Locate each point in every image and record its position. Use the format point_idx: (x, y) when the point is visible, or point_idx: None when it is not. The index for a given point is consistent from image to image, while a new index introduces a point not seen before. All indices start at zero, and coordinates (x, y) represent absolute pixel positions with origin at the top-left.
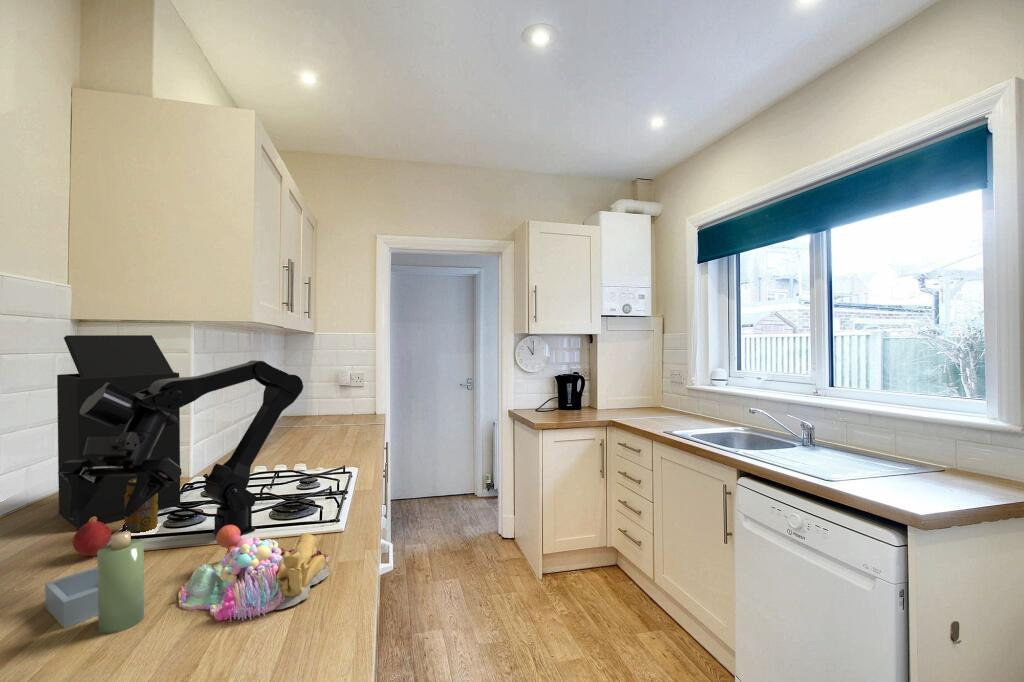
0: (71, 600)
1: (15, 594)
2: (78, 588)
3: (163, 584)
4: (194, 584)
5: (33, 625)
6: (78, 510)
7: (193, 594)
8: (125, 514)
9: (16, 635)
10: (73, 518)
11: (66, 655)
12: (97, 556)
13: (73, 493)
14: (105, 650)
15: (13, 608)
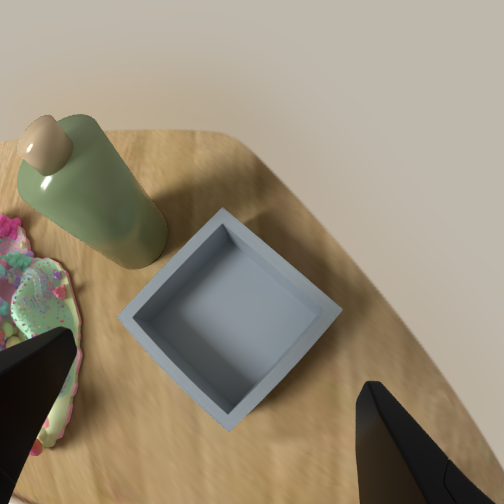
0: (213, 217)
1: (431, 375)
2: (286, 351)
3: (126, 376)
4: (43, 304)
5: (299, 248)
6: (366, 437)
7: (41, 272)
8: (58, 329)
9: (304, 219)
10: (360, 396)
11: (177, 159)
12: (102, 131)
13: (456, 485)
14: (129, 167)
15: (393, 319)
